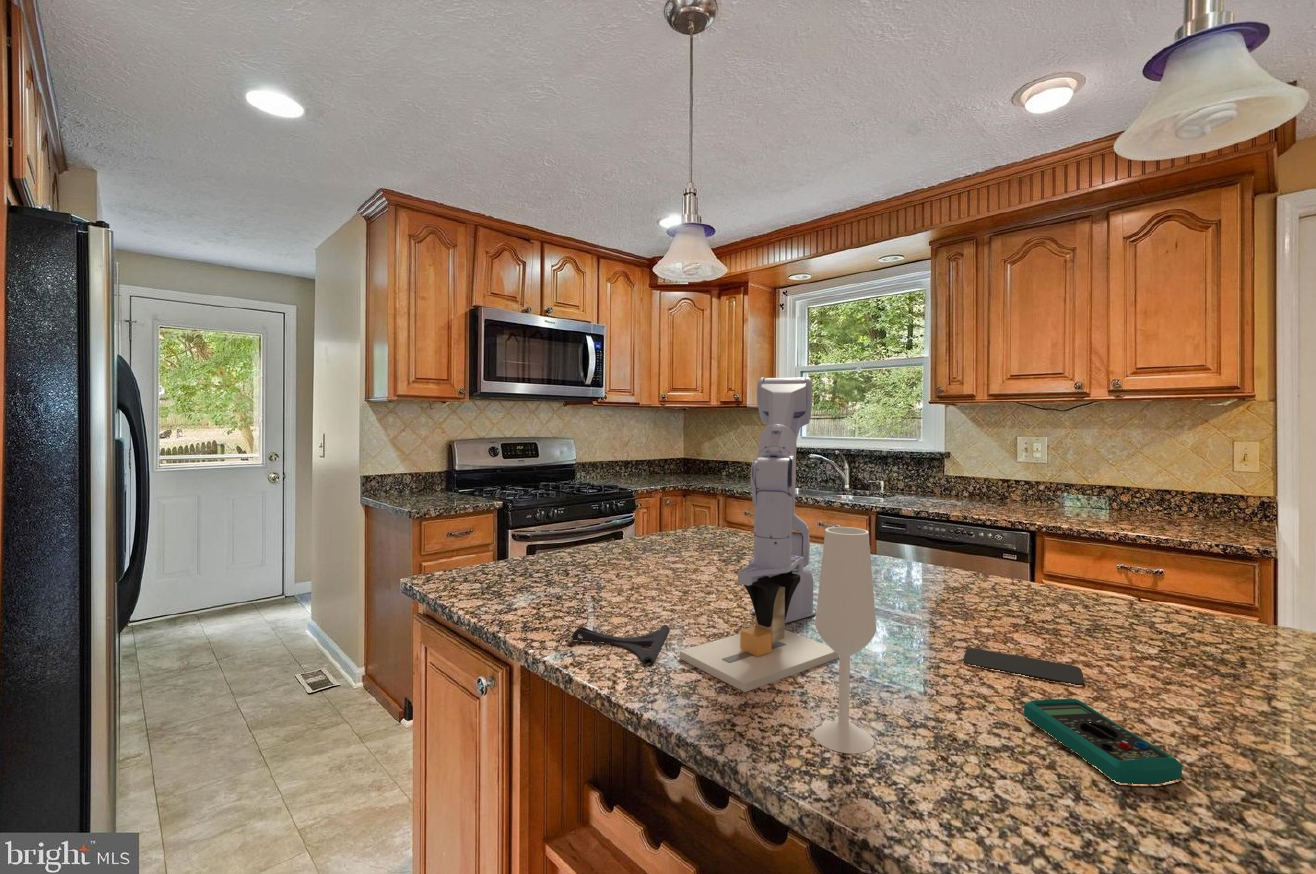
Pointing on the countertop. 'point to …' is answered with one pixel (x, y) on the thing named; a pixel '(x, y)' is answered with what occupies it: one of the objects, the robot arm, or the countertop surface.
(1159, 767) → the digital multimeter
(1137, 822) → the countertop surface
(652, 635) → the bracket
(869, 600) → the champagne flute
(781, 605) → the tall stone pillar
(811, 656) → the switch panel
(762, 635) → the block
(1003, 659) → the phone
